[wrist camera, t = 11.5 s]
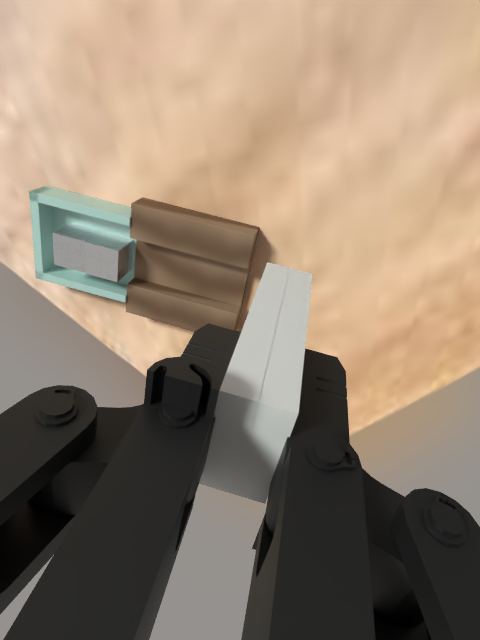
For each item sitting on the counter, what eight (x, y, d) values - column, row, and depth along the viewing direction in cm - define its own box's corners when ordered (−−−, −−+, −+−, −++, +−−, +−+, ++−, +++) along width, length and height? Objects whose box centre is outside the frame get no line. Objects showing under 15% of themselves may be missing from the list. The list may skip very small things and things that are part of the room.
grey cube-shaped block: (71, 222, 49) (52, 232, 46) (102, 231, 49) (85, 241, 46) (72, 252, 51) (54, 264, 48) (101, 260, 51) (85, 273, 48)
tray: (46, 185, 48) (29, 191, 45) (141, 210, 47) (129, 217, 44) (51, 268, 54) (36, 278, 51) (136, 291, 53) (125, 302, 50)
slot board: (142, 197, 47) (131, 203, 44) (259, 227, 46) (254, 235, 43) (135, 301, 54) (125, 311, 51) (236, 328, 53) (231, 341, 50)
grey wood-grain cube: (102, 231, 49) (85, 241, 46) (133, 239, 49) (118, 250, 45) (101, 261, 51) (85, 273, 48) (131, 269, 51) (117, 282, 47)
